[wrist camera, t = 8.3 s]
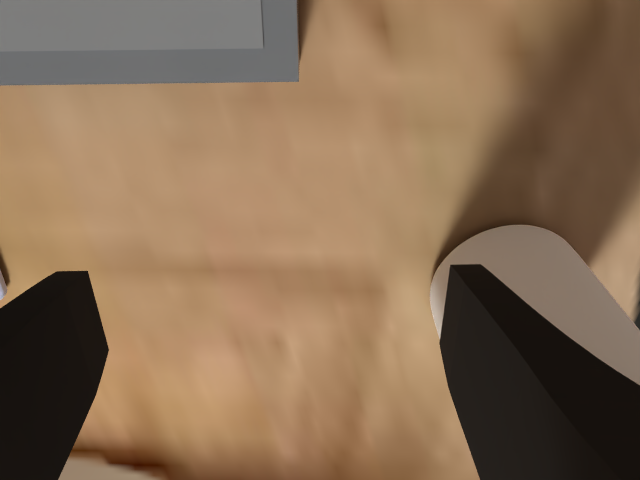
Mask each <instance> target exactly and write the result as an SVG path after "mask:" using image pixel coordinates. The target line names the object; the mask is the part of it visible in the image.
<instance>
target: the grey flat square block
mask: <svg viewBox="0 0 640 480" xmlns="http://www.w3.org/2000/svg"><path fill="white" fill-rule="evenodd" d="M299 65H300V57H299V18H298V0H0V85H68V84H146V83H225V82H299Z"/></svg>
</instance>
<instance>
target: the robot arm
mask: <svg viewBox="0 0 640 480" xmlns="http://www.w3.org/2000/svg"><path fill="white" fill-rule="evenodd" d="M6 293H7V287H6V284H5V281H4V278H3V276H2V273H1V270H0V300H1V299H3V297H4V296H5V295H6ZM440 349H441V354H442V359H443V364H444V369H445V374H446V378H447V383H448V387H449V390H450V393H451V397H452V400H453V402H454V405H455V408H456V411H457V414H458V417H459V420H460V423H461V426H462V429H463V432H464V434H465V437H466V440H467V443H468V446H469V449H470V452H471V455H472V457H473V460H474V463H475V466H476V469H477V472H478V475H479V477H480V480H640V385H639V384H637V383H636V382H634V381H632V380H631V379H629V378H628V377H626V376H624V375H623V374H621V373H620V372H618V371H616V370H615V369H613V368H612V367H610V366H609V365H607V364H606V363H604V362H603V361H601V360H600V359H599V358H597V357H596V356H594V355H593V354H592V353H590V352H589V351H588V350H586V349H585V348H583V347H582V346H581V345H579V344H578V343H577V342H575V341H574V340H572V339H571V338H570V337H568V336H567V335H566V334H565V333H563V332H562V331H561V330H559V329H558V328H557V327H555V326H554V325H553V324H552V323H550V322H549V321H548V320H547V319H545V318H544V317H543V316H542V315H541V314H539V313H538V312H537V311H536V310H534V309H533V308H532V307H531V306H530V305H528V304H527V303H526V302H525V301H524V300H523V299H521V298H520V297H519V296H518V295H517V294H516V293H514V292H513V291H512V290H511V289H510V288H509V287H507V286H506V285H505V284H504V283H503V282H502V281H500V280H499V279H498V278H497V277H496V276H495V275H493V274H492V273H491V272H490V271H489V270H488V269H486V268H485V267H484V266H482V265H481V264H457V265H450V270H449V277H448V284H447V292H446V299H445V306H444V314H443V321H442V328H441V336H440ZM108 351H109V349H108V345H107V341H106V337H105V334H104V330H103V326H102V322H101V319H100V315H99V311H98V308H97V304H96V300H95V296H94V293H93V289H92V285H91V282H90V278H89V274H88V271H57V272H55V273H53V274H52V275H50V276H48V277H46V278H45V279H43V280H42V281H40V282H39V283H37V284H36V285H34V286H33V287H31V288H30V289H28V290H27V291H25V292H24V293H22V294H21V295H19V296H18V297H16V298H15V299H13V300H12V301H11V302H9V303H8V304H6V305H5V306H3V307H2V308H0V480H58V478H59V476H60V474H61V472H62V470H63V467H64V465H65V463H66V461H67V459H68V457H69V454H70V452H71V450H72V448H73V446H74V443H75V441H76V439H77V437H78V434H79V432H80V430H81V428H82V426H83V423H84V421H85V419H86V416H87V414H88V412H89V410H90V407H91V405H92V403H93V400H94V398H95V396H96V393H97V390H98V386H99V383H100V380H101V376H102V373H103V369H104V366H105V362H106V358H107V355H108Z"/></svg>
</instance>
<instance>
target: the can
mask: <svg viewBox="0 0 640 480" xmlns="http://www.w3.org/2000/svg"><path fill="white" fill-rule="evenodd" d="M457 264H481V265H482V266H484V267H485V268H486V269H488V270H489V271H490V272H491V273H492V274H493V275H495V276H496V277H497V278H498V279H499V280H500V281H502V282H503V283H504V284H505V285H506V286H507V287H509V288H510V289H511V290H512V291H513V292H514V293H516V294H517V295H518V296H519V297H520V298H521V299H523V300H524V301H525V302H526V303H527V304H528V305H530V306H531V307H532V308H533V309H534V310H536V311H537V312H538V313H539V314H541V315H542V316H543V317H544V318H545V319H547V320H548V321H549V322H550V323H552V324H553V325H554V326H555V327H557V328H558V329H559V330H561V331H562V332H563V333H565V334H566V335H567V336H568V337H570V338H571V339H572V340H574V341H575V342H577V343H578V344H579V345H581V346H582V347H583V348H585V349H586V350H588V351H589V352H590V353H592V354H593V355H594V356H596V357H597V358H599V359H600V360H601V361H603V362H604V363H606V364H607V365H609V366H610V367H612V368H613V369H615V370H616V371H618V372H620V373H621V374H623V375H624V376H626V377H628V378H629V379H631V380H632V381H634V382H636V383H637V384H639V385H640V330H639V329H638V328H637V327H636V325H635V324H634V323H633V322H632V320H631V319H630V318H629V317H628V315H627V314H626V313H625V312H624V310H623V309H622V308H621V307H620V305H619V304H618V303H617V302H616V300H615V299H614V298H613V297H612V295H611V294H610V293H609V292H608V290H607V289H606V288H605V287H604V285H603V284H602V283H601V282H600V280H599V279H598V278H597V277H596V275H595V274H594V273H593V272H592V271H591V269H590V268H589V267H588V266H587V264H586V263H585V262H584V261H583V260H582V258H581V257H580V256H579V255H578V253H577V252H576V251H575V250H574V249H573V248H572V247H571V245H570V244H569V243H568V242H567V241H565V240H564V239H563V238H562V237H560V236H559V235H557V234H556V233H554V232H552V231H549V230H547V229H544V228H541V227H536V226H531V225H508V226H501V227H497V228H493V229H489V230H487V231H484V232H481V233H479V234H477V235H475V236H473V237H471V238H469V239H467V240H466V241H464V242H463V243H461V244H460V245H459V246H457V247H456V248H455V249H454V250H453V251H452V252H451V253H450V254H449V255H448V256H447V257H446V258H445V259H444V260H443V262H442V263H441V264H440V265H439V267H438V268H437V270H436V272H435V274H434V277H433V280H432V283H431V289H430V304H431V310H432V314H433V318H434V322H435V325H436V328H437V332H438V335H439V338H440V336H441V328H442V321H443V314H444V306H445V299H446V292H447V284H448V277H449V270H450V265H457Z"/></svg>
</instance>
